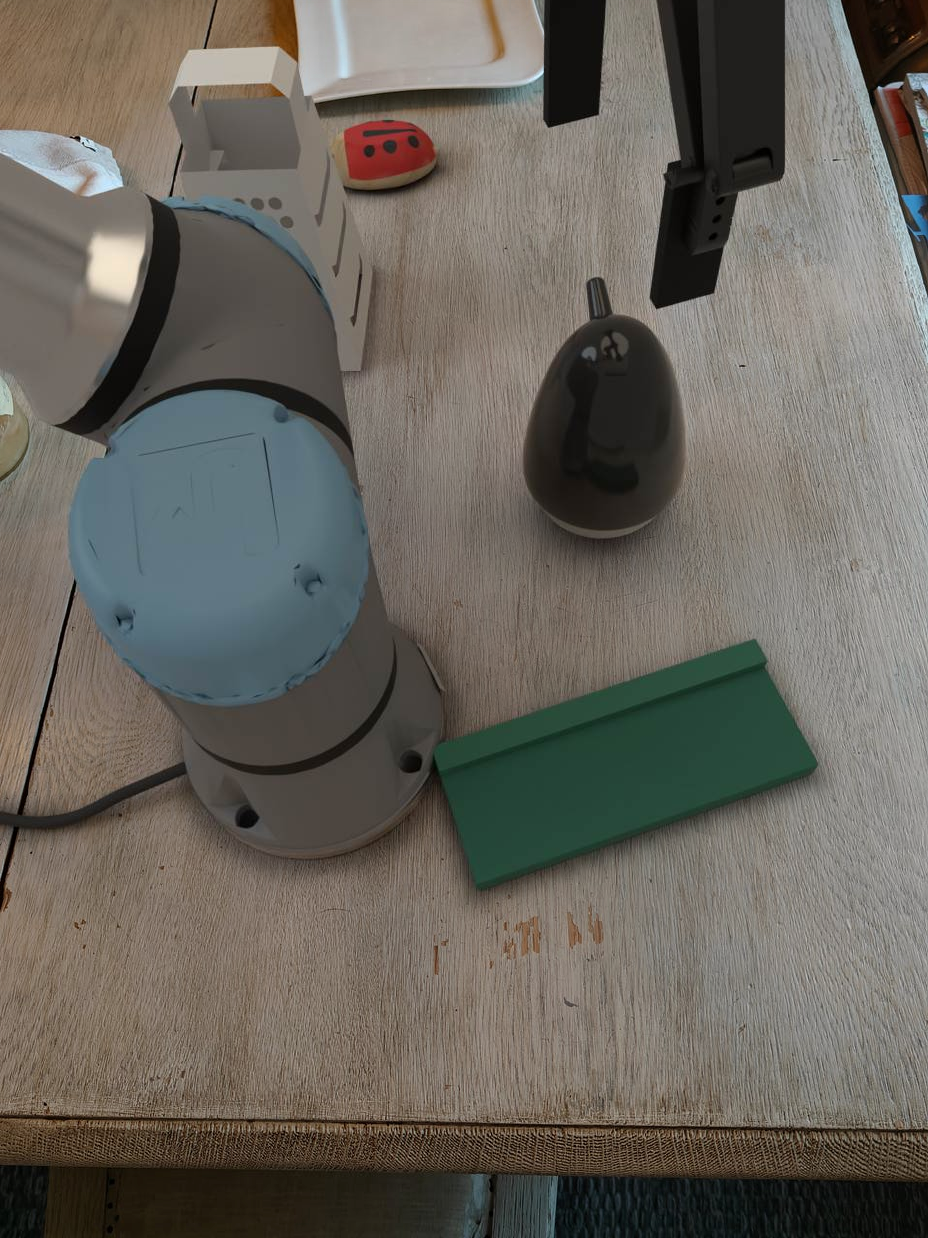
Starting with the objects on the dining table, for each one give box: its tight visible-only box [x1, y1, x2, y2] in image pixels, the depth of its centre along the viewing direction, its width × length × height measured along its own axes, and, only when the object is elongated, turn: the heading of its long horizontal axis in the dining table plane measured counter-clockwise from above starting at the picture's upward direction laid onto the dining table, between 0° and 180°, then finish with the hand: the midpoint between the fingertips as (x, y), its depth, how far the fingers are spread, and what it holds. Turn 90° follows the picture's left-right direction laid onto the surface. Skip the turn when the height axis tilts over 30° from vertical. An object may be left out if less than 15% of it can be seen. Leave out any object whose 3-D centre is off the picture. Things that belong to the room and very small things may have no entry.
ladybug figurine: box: [329, 119, 441, 191], centre depth 81 cm, size 7×10×4 cm
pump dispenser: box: [521, 276, 687, 539], centre depth 58 cm, size 10×10×15 cm
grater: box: [167, 46, 374, 372], centre depth 65 cm, size 10×10×20 cm
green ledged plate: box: [433, 638, 819, 892], centre depth 54 cm, size 20×8×2 cm, turn 108°
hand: (622, 200), depth 45 cm, fingers open, 13 cm apart
